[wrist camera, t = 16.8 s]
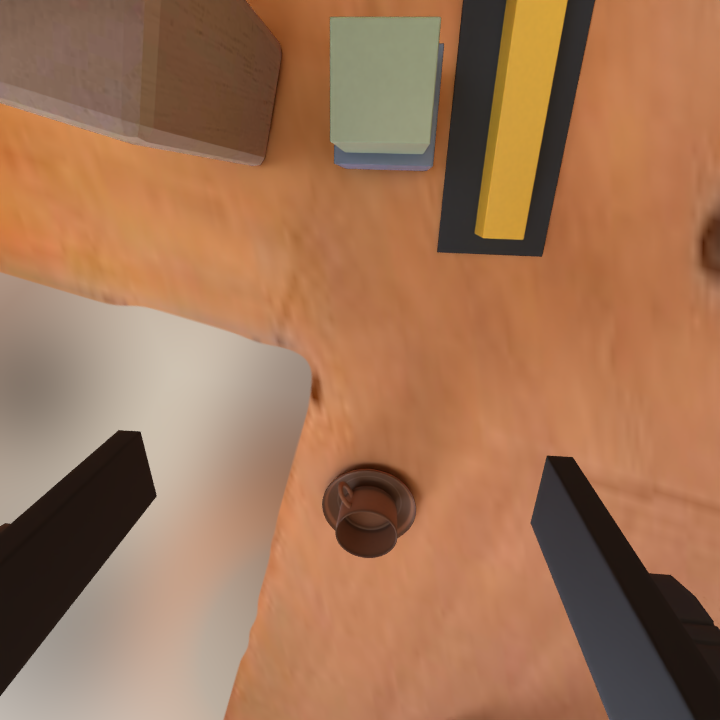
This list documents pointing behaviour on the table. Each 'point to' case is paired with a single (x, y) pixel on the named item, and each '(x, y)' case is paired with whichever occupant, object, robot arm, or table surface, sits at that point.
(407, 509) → the cup and saucer
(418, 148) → the tower
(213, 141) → the block
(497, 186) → the bar
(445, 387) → the table surface
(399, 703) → the table surface
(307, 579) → the table surface
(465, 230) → the mat
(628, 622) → the robot arm
